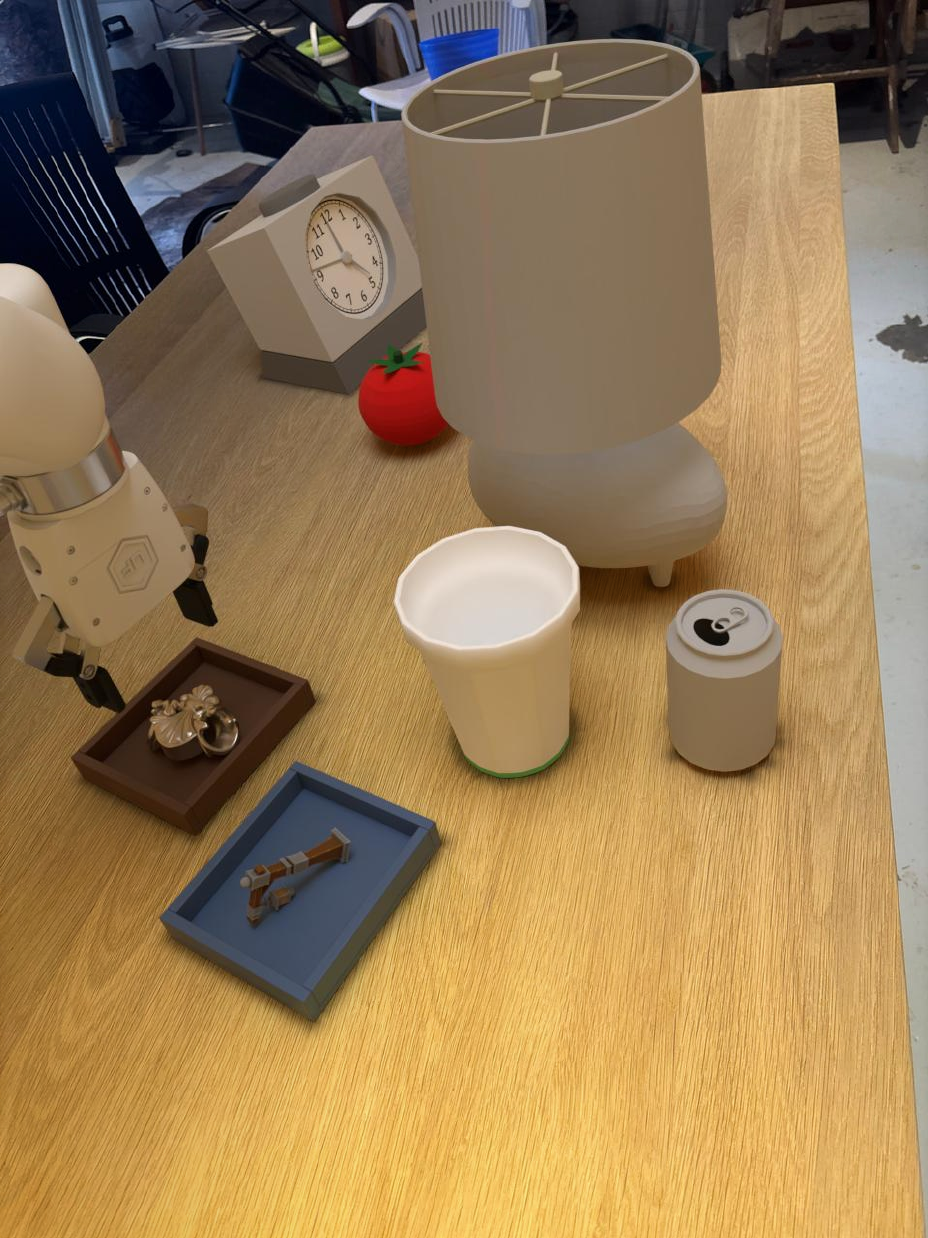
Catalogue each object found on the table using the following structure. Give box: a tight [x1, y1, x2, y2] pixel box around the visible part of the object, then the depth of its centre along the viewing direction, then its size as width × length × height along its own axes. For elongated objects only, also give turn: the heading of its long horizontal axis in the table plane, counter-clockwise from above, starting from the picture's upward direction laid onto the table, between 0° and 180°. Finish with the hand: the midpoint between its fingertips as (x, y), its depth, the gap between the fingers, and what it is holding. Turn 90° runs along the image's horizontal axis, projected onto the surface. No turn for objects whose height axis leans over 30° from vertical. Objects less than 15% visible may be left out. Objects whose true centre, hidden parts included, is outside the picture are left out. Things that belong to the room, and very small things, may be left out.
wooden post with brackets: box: [240, 828, 350, 924], centre depth 69 cm, size 2×8×4 cm, turn 133°
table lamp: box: [400, 38, 728, 588], centre depth 77 cm, size 23×22×40 cm
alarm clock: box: [206, 154, 427, 395], centre depth 123 cm, size 20×16×20 cm
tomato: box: [357, 342, 449, 447], centre depth 108 cm, size 10×10×10 cm
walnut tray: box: [70, 636, 317, 836], centre depth 82 cm, size 15×13×3 cm
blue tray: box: [158, 760, 442, 1023], centre depth 70 cm, size 15×13×3 cm
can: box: [665, 588, 784, 773], centre depth 70 cm, size 8×8×12 cm
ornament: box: [145, 685, 240, 761], centre depth 81 cm, size 8×7×4 cm
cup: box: [392, 526, 581, 779], centre depth 73 cm, size 12×12×15 cm
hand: (157, 661), depth 76 cm, fingers open, 9 cm apart
